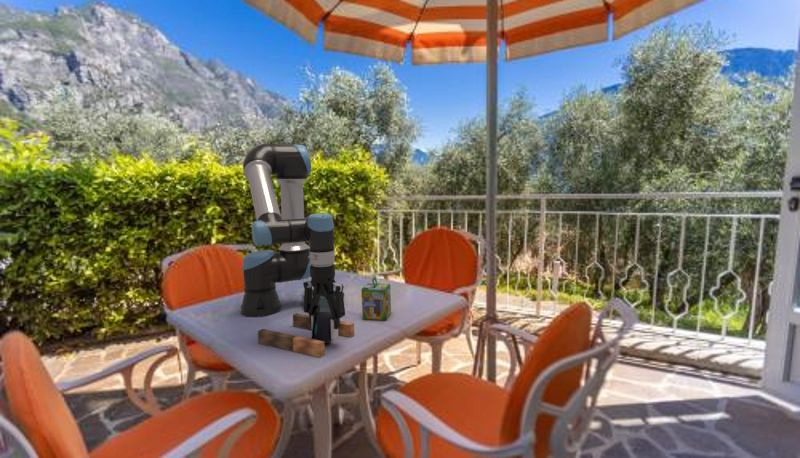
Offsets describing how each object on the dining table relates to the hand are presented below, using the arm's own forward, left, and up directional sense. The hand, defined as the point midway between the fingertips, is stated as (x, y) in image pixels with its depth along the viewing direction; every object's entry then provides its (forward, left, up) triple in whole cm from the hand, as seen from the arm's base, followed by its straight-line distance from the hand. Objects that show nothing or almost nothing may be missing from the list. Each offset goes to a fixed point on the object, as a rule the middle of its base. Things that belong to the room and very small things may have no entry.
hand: (325, 336), depth 122 cm
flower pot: (-13, +20, -2) cm, 24 cm away
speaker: (-1, 0, -1) cm, 2 cm away
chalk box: (+3, +28, -2) cm, 28 cm away
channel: (-7, 0, -2) cm, 7 cm away
